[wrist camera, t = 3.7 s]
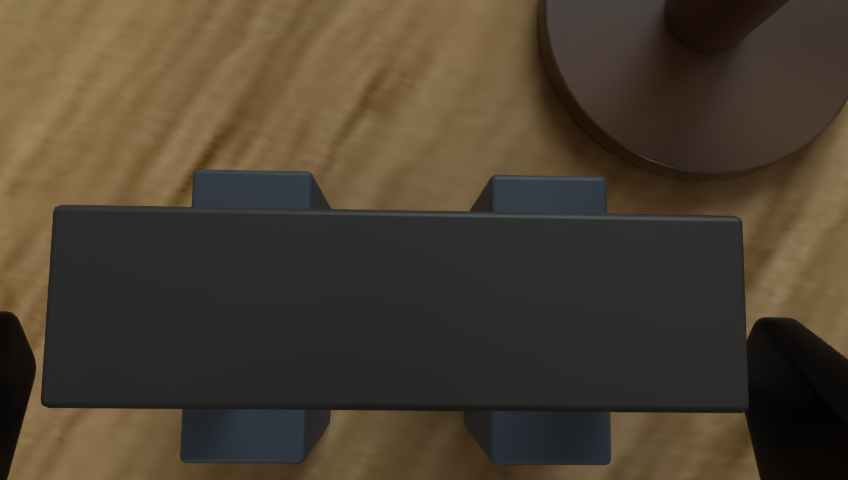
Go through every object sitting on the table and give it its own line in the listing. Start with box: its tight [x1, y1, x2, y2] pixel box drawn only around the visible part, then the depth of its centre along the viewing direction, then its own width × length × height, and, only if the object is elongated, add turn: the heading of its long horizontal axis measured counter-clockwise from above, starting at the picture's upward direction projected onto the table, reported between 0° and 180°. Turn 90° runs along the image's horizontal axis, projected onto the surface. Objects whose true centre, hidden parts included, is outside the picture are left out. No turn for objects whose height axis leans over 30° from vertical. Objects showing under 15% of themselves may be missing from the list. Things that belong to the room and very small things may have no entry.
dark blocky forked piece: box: [41, 170, 749, 465], centre depth 12 cm, size 5×8×10 cm, turn 89°
